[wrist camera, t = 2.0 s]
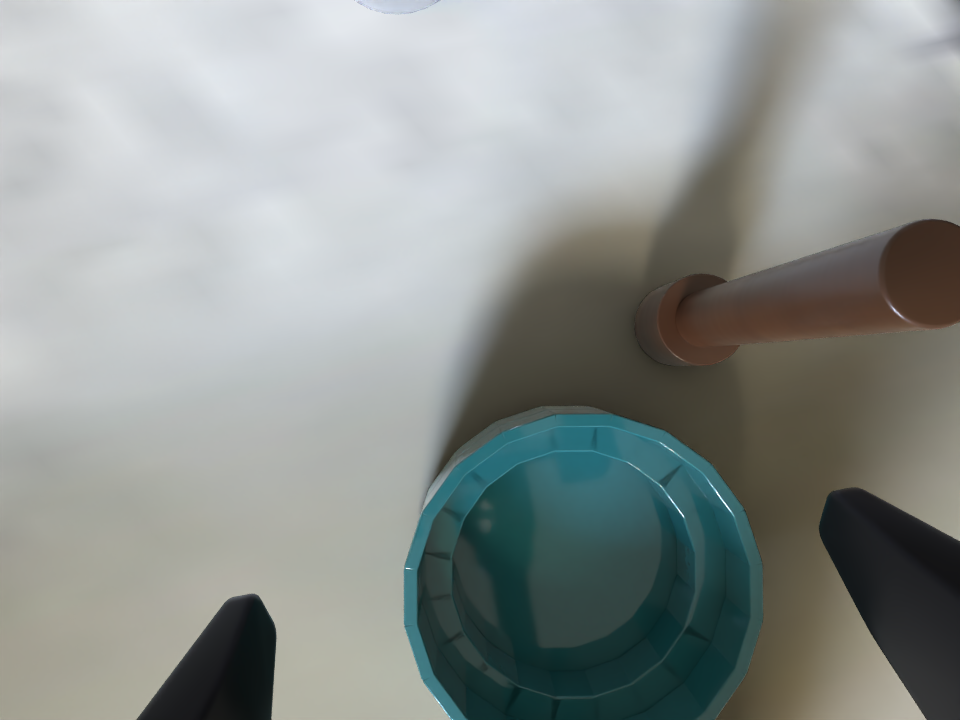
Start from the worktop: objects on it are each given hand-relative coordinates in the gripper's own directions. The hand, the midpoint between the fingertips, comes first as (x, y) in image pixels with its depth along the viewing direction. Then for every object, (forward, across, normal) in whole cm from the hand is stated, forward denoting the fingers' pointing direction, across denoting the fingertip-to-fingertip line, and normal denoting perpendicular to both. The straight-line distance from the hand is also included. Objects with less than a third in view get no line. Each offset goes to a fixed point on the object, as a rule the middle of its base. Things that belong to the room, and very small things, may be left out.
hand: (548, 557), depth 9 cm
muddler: (+15, -9, +6) cm, 19 cm away
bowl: (+10, -2, +14) cm, 17 cm away
